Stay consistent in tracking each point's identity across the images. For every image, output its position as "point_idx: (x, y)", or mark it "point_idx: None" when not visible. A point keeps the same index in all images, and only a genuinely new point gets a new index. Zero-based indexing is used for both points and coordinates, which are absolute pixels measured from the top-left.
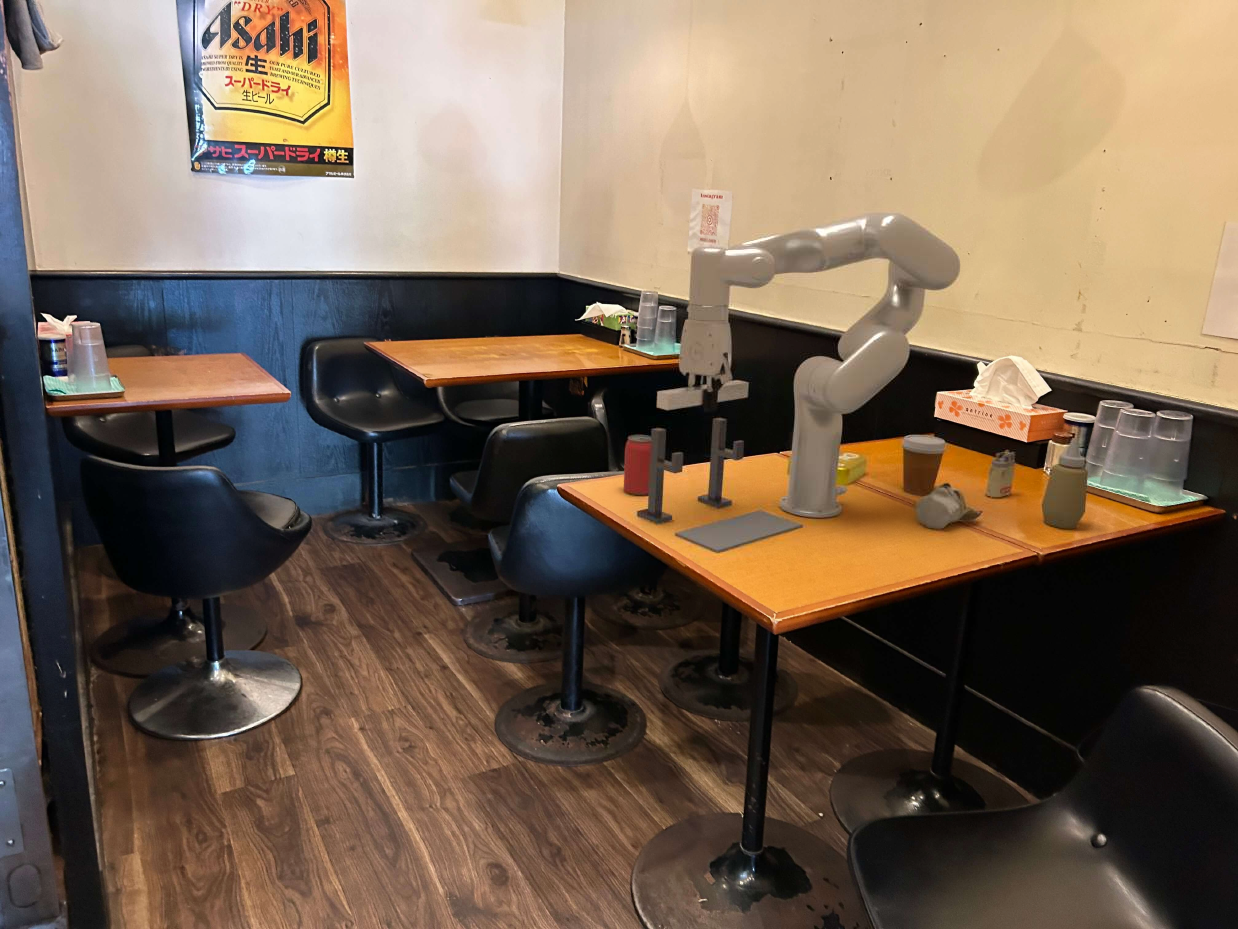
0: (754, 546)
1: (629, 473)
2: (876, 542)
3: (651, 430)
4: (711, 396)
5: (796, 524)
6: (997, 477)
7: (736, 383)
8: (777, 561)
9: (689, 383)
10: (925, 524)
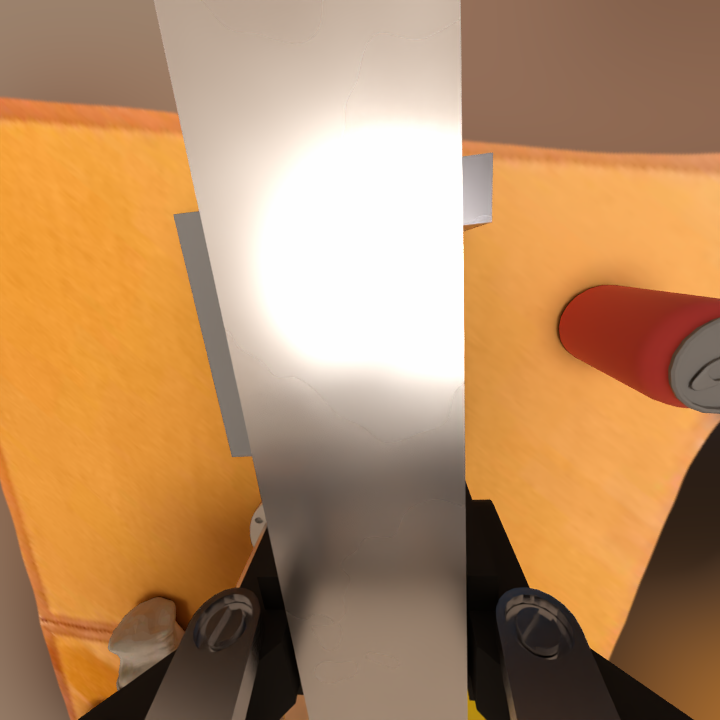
0: (183, 309)
1: (633, 290)
2: (133, 494)
3: (490, 156)
4: (252, 567)
5: (237, 448)
6: None
7: None
8: (106, 292)
9: (572, 642)
10: (160, 599)
